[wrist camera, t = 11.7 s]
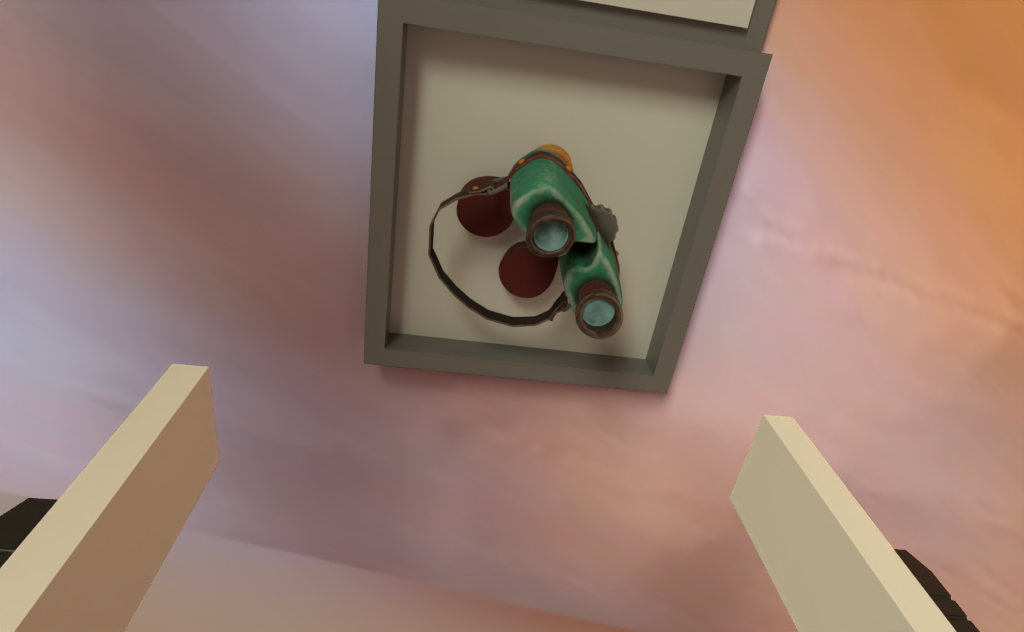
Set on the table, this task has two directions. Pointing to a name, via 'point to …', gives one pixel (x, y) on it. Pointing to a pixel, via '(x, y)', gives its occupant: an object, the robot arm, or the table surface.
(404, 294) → the case
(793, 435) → the robot arm
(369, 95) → the table surface
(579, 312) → the binoculars
